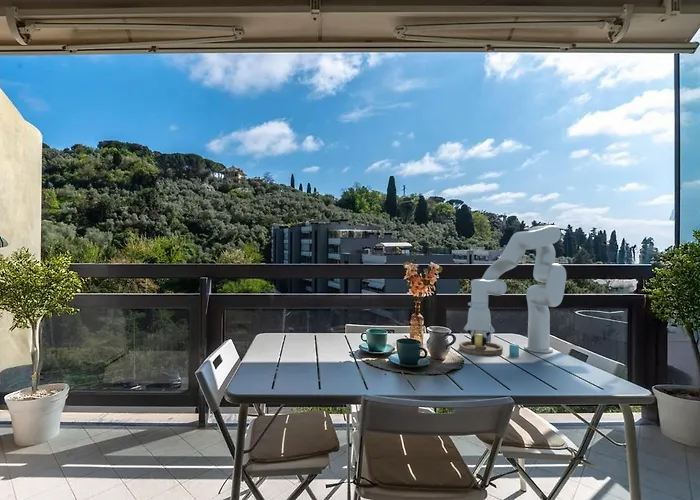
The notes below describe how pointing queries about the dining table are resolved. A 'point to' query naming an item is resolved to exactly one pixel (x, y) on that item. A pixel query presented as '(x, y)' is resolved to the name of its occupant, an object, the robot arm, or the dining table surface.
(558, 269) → the robot arm
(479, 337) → the ochre bead
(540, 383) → the dining table surface
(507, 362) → the dining table surface
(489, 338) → the ceramic mug
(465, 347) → the groove tray
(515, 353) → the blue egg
